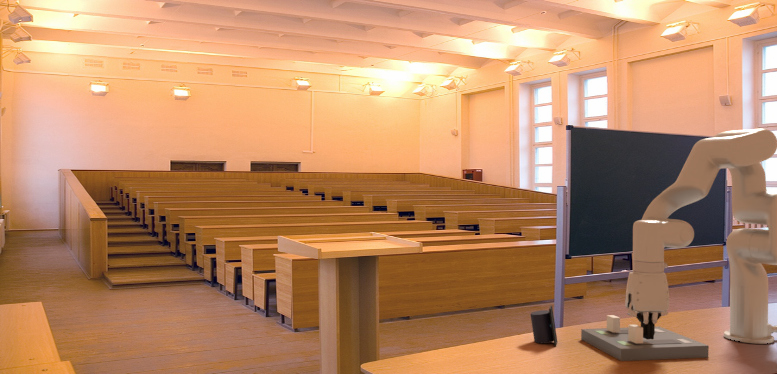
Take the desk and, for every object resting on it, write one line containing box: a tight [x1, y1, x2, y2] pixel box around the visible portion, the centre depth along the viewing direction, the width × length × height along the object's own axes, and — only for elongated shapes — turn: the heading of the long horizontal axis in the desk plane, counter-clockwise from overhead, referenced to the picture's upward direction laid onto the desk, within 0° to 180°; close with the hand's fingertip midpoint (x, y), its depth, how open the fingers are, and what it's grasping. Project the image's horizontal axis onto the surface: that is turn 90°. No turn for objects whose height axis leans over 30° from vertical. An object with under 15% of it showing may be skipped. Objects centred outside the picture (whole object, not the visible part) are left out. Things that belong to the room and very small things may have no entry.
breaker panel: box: [580, 326, 709, 362], centre depth 173 cm, size 24×22×3 cm
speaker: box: [529, 304, 558, 347], centre depth 178 cm, size 8×6×10 cm
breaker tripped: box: [627, 324, 643, 343], centre depth 166 cm, size 2×4×4 cm, turn 9°
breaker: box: [606, 314, 621, 332], centre depth 178 cm, size 2×4×4 cm, turn 9°
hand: (647, 338), depth 166 cm, fingers closed
